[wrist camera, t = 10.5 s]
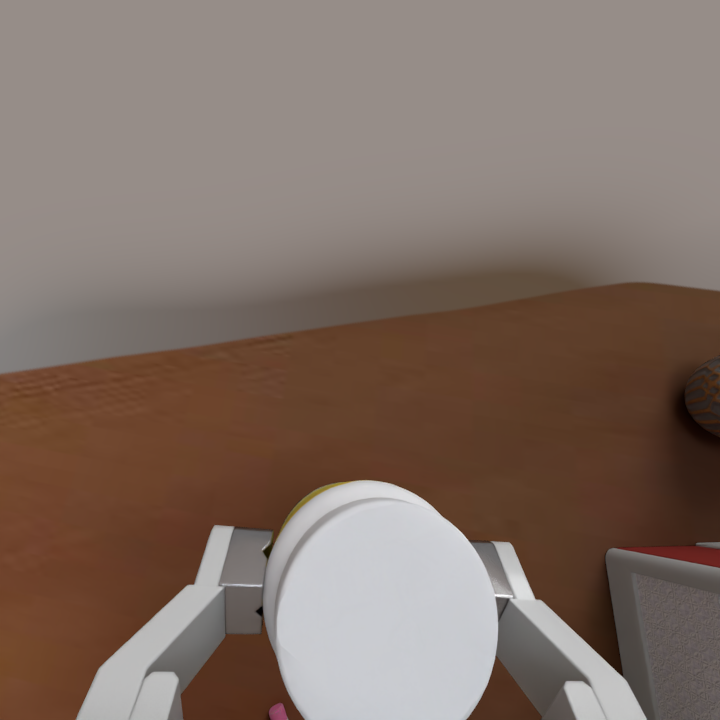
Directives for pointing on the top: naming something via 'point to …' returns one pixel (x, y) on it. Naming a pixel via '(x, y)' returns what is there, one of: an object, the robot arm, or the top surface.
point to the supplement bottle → (378, 608)
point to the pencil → (278, 712)
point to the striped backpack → (669, 627)
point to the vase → (705, 396)
